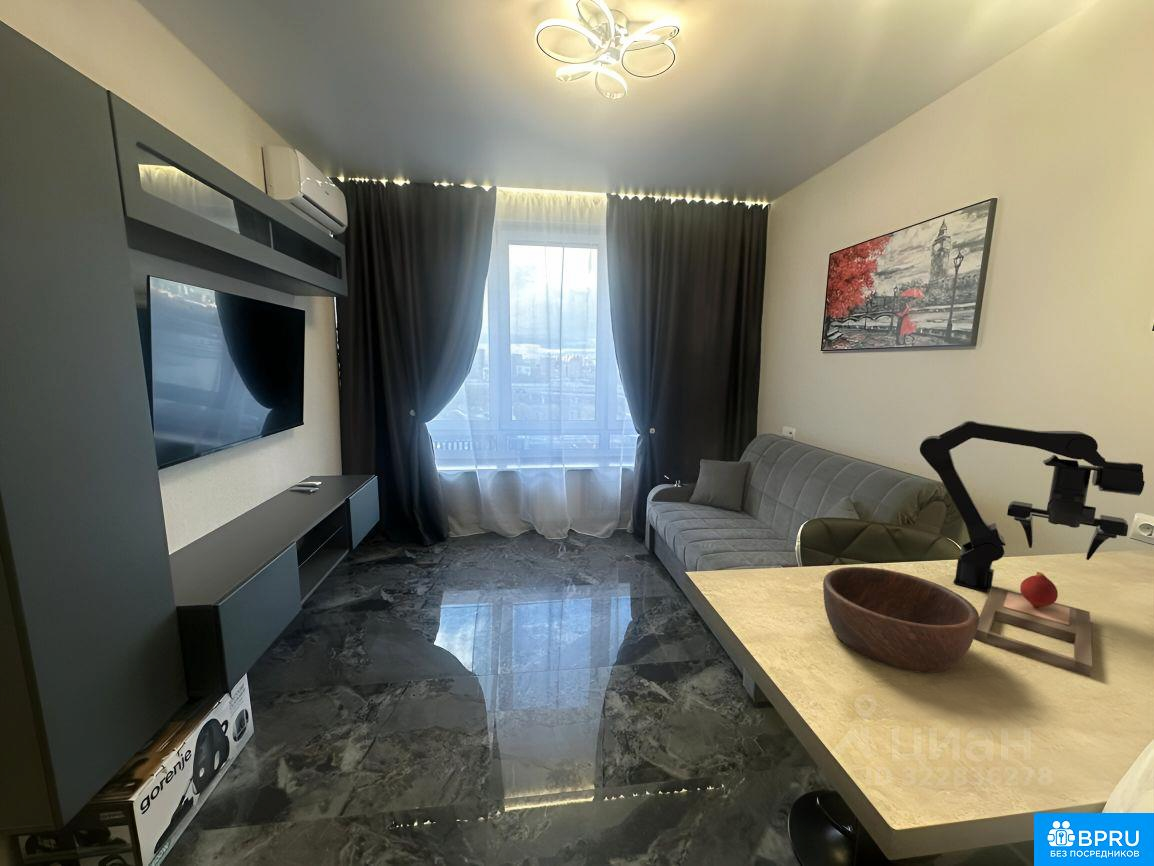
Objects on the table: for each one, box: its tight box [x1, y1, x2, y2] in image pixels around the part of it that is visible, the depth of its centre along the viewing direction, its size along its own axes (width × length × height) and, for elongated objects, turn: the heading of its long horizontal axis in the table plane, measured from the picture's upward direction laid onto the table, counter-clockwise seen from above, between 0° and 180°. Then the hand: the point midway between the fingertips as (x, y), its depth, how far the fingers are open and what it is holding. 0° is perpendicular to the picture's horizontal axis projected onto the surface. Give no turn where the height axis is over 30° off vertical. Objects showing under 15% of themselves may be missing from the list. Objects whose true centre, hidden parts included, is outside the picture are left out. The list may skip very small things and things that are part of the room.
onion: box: [1019, 571, 1059, 608], centre depth 102 cm, size 6×6×8 cm
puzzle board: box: [973, 585, 1093, 677], centre depth 98 cm, size 16×28×2 cm, turn 133°
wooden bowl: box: [822, 566, 980, 673], centre depth 92 cm, size 25×25×10 cm
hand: (1058, 553), depth 108 cm, fingers open, 9 cm apart
